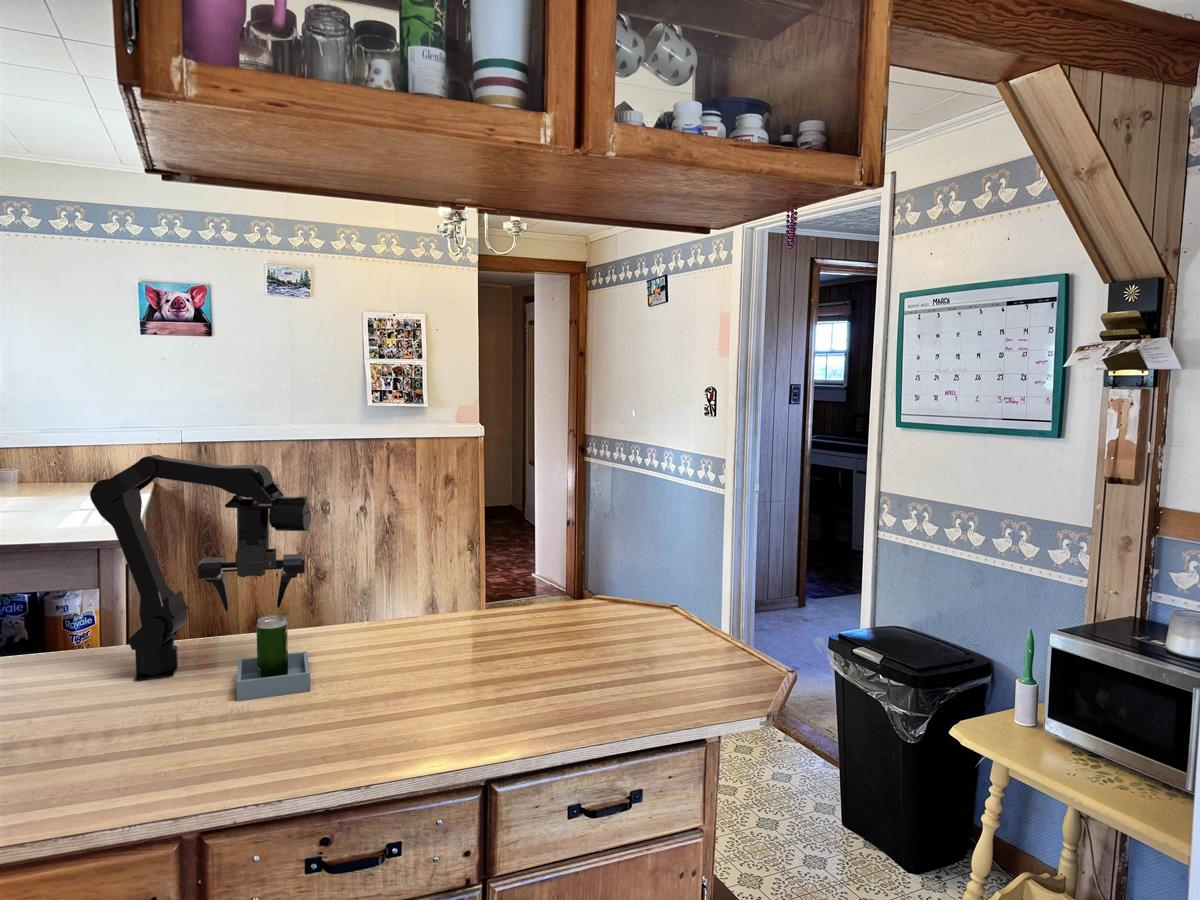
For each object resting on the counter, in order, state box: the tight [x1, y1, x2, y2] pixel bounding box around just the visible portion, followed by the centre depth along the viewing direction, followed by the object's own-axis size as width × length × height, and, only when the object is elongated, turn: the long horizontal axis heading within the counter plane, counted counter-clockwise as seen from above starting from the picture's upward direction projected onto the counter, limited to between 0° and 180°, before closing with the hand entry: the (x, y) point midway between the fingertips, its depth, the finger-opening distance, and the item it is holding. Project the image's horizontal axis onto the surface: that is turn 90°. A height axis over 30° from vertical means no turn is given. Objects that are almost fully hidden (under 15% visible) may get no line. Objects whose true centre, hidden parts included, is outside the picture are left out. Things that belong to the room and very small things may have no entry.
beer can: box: [256, 614, 289, 678], centre depth 146 cm, size 5×5×12 cm
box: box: [235, 650, 311, 702], centre depth 146 cm, size 12×12×4 cm
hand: (253, 608), depth 151 cm, fingers open, 9 cm apart
